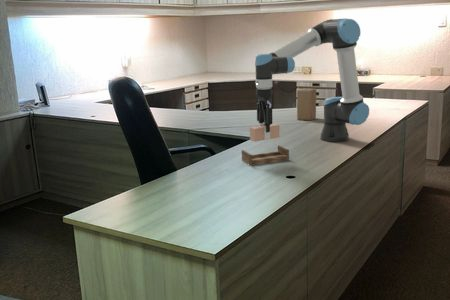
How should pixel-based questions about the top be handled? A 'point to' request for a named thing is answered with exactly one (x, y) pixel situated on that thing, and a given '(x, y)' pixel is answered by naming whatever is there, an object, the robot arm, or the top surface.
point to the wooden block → (306, 104)
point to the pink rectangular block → (258, 132)
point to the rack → (266, 156)
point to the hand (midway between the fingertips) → (264, 137)
